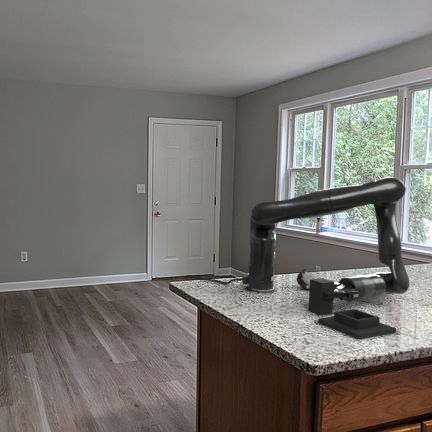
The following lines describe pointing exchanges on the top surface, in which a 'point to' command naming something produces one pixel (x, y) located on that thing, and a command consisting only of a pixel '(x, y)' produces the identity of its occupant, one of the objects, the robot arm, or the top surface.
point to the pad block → (320, 296)
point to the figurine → (305, 279)
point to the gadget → (374, 299)
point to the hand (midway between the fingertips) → (317, 293)
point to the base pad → (357, 324)
